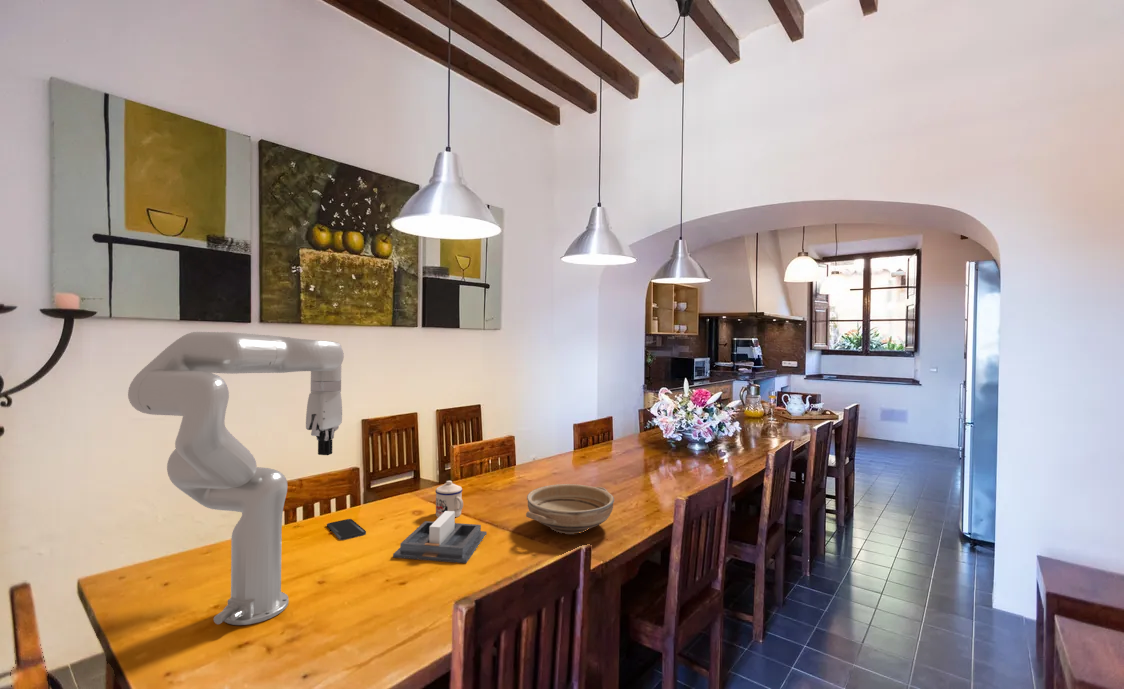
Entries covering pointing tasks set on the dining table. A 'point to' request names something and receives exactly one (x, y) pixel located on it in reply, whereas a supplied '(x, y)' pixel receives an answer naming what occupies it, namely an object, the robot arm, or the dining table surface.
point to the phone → (346, 529)
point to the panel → (442, 527)
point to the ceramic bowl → (570, 507)
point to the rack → (442, 544)
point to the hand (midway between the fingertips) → (325, 454)
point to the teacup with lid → (449, 499)
